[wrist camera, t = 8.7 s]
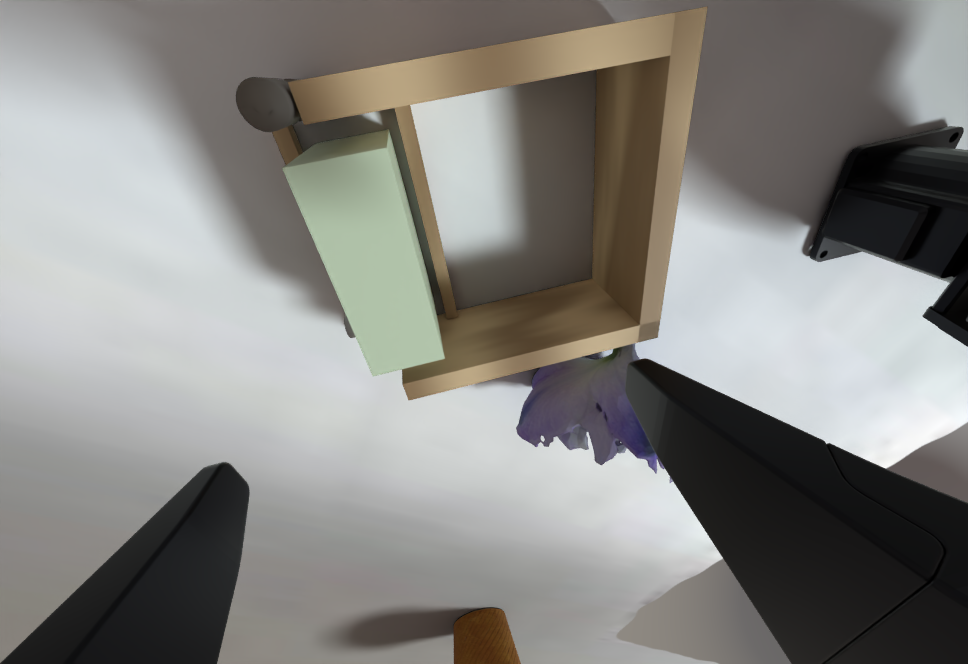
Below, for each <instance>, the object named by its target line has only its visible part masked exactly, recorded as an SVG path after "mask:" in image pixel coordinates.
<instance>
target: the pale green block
mask: <svg viewBox="0 0 968 664" xmlns="http://www.w3.org/2000/svg"><path fill="white" fill-rule="evenodd" d="M282 170H283V172H284V174H285V176H286V179H287V181H288V183H289V186H290V188H291V190H292V192H293V195H294V197H295V199H296V202H297V204H298V206H299V208H300V211H301V213H302V215H303V218H304V220H305V222H306V224H307V227H308V229H309V231H310V234H311V236H312V238H313V240H314V243H315V245H316V247H317V250H318V252H319V254H320V257H321V259H322V261H323V263H324V266H325V268H326V270H327V273H328V275H329V277H330V279H331V282H332V284H333V286H334V289H335V291H336V293H337V295H338V298H339V300H340V302H341V305H342V307H343V309H344V311H345V314H346V316H345V317H344V324H345V329H346V331H347V334H348V336H349V337H350V338H354V337H356V339H357V341H358V343H359V346H360V348H361V350H362V353H363V355H364V357H365V360H366V362H367V364H368V366H369V369H370V371H371V373H372V376H377V375H381V374H385V373H389V372H393V371H397V370H401V369H405V368H409V367H413V366H417V365H422V364H426V363H430V362H434V361H438V360H442V359H445V357H444V351H443V346H442V340H441V335H440V330H439V324H438V319H437V313H436V308H435V303H434V297H433V293H432V290H431V286H430V282H429V278H428V275H427V271H426V267H425V263H424V260H423V256H422V252H421V248H420V244H419V241H418V237H417V233H416V229H415V226H414V222H413V218H412V214H411V210H410V207H409V203H408V199H407V195H406V192H405V188H404V184H403V180H402V176H401V173H400V169H399V165H398V161H397V158H396V154H395V150H394V146H393V143H392V139H391V135H390V131H389V129H388V130H383V131H377V132H372V133H367V134H362V135H357V136H352V137H347V138H342V139H336V140H331V141H326V142H321V143H316V144H314V145H313V146H311V147H310V148H309V149H307V150H306V151H305V152H303V153H302V154H301V155H299V156H298V157H297V158H295V159H294V160H293V161H291V162H290V163H289V164H287V165H286V166H285V167H283V168H282Z"/></svg>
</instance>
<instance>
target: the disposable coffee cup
mask: <svg viewBox="0 0 968 664" xmlns="http://www.w3.org/2000/svg"><path fill="white" fill-rule="evenodd" d="M454 664H521V663H520V660H519V657H518V654H517V650H516V648H515V644H514V641H513V638H512V635H511V632H510V629H509V625H508V622H507V619H506V616H505V613H504V611H502V610H500V609H495V608H486V609H481V610H476V611H473V612H471V613H468V614H466V615H464V616H462V617H461V618H459V619H458V620H457V621H456V622H455V624H454Z"/></svg>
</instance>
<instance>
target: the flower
mask: <svg viewBox="0 0 968 664" xmlns="http://www.w3.org/2000/svg"><path fill="white" fill-rule="evenodd" d="M636 360H640V359H639V358H638V356H637V354H636V351H635V343H634V344H630V345H626V346H622V347H618V348H614V349H613V353H612V354H611V355H609V356H606V357H603V358H601V359H594V360H593V359H588V358H584V357H579V358H575V359H571V360H567V361H563V362H559V363H555V364H551V365H547V366H543V367H540V369H539V370H538V371H537V372H536V374H535V375H534V377H533V379H532V388H533V390H532V391H531V393H530V394H529V396H528V398H527V399H526V401H525V403H524V405H523V408H522V411H521V416H520V420H519V424H518V426H517V427H516V429H517V434H518V435H519V436H520V437H521V438H522V439H524V440H526V441H528V442H529V443H531V444H533V445H534V446H535V447H537V446H538V443H540V442H542V441H541V440H540V438H541V435H542V436H544V438H545V441H544V442H542V443H543V445H544V446H546V447H549V444H550V443H551V442H553V437H556V436H557V437H558V438H559V439H560V441H561V442H562V443H563V444H564V445H565V446H566V447H567V448H568V449H569V450H572V449H576V448H582V449H585V450H587V449H589V448H588V438H587V436H586V432H589V435H590V439H591V442H592V446H593V449H594V454H595V461H596V462H597V463H598V464H600V465H603V464H604V463H605V462H607V461H608V460H610V459H612V458H613V457H614V456H615V455H616V454H617V453H625V451H626V448H628V449H629V450H630V451H631V452H632V453H633V454H634V455H635V456H636V457H637V458H640V459H646V460H647V461H648V465H649V467H650V468H652V469H653V470H654V472H655V473H656V474H657V462H656V460H657V459H658V462H659V464H660V467H661V468H663V469H664V466H663V465H662V463H661V461H660V460H659V458H658V457H657V455H656V453H655V451H654V449H653V447H652V446H651V444H650V442H649V440H648V438H647V436H646V434H645V432H644V430H643V428H642V426H641V424H640V422H639V420H638V418H637V416H636V414H635V412H634V410H633V408H632V406H631V404H630V402H629V400H628V398H627V395H626V392H625V383H626V373H627V365H628V364H629V363H630V362H632V361H636ZM620 442H621V443H620ZM672 481H673V480H672V479H671V477H670V483H671V482H672Z"/></svg>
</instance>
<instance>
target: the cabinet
mask: <svg viewBox="0 0 968 664" xmlns="http://www.w3.org/2000/svg"><path fill="white" fill-rule="evenodd" d="M706 14H707V7H702V8H697V9H691V10H686V11H680V12H675V13H669V14H663V15H658V16H652V17H647V18H641V19H636V20H630V21H625V22H619V23H614V24H608V25H602V26H597V27H591V28H586V29H580V30H575V31H569V32H564V33H558V34H553V35H547V36H541V37H536V38H530V39H525V40H519V41H514V42H508V43H503V44H497V45H492V46H486V47H480V48H475V49H469V50H464V51H458V52H453V53H447V54H442V55H436V56H430V57H425V58H419V59H414V60H408V61H403V62H397V63H392V64H386V65H381V66H375V67H369V68H364V69H358V70H353V71H347V72H342V73H336V74H331V75H325V76H320V77H314V78H308V79H303V80H297V79H284V80H282V79H277V78H258V77H252V78H248V79H245V80H244V81H242V82H241V83H240V85H239V86H238V88H237V92H236V103H237V106H238V109H239V111H240V113H241V115H242V116H243V117H244V119H245V120H246V121H247V122H248V123H249V124H250V125H252V126H253V127H255V128H257V129H259V130H261V131H265V132H272V134H273V136H274V138H275V141H276V143H277V145H278V148H279V150H280V152H281V155H282V157H283V159H284V162H285V164H286V165H287V164H289V163H290V162H291V161H293V160H294V159H295V158H297V157H298V156H299V155H301V154H302V153H303V151H302V148H301V146H300V143H299V141H298V138H297V136H296V133H295V131H294V128H293V126H292V125H293V124H295V123H297V122H298V121H303V124H304V125H307V124H312V123H317V122H322V121H328V120H333V119H338V118H343V117H349V116H354V115H359V114H364V113H370V112H375V111H380V110H386V109H391V108H395V112H396V116H397V120H398V124H399V129H400V133H401V137H402V141H403V145H404V149H405V153H406V157H407V161H408V165H409V169H410V173H411V177H412V181H413V185H414V189H415V193H416V197H417V201H418V205H419V209H420V213H421V217H422V221H423V225H424V229H425V233H426V237H427V241H428V245H429V249H430V253H431V257H432V261H433V265H434V269H435V273H436V277H437V281H438V285H439V289H440V293H441V297H442V301H443V305H444V309H445V313H444V314H440V315H437V319H438V324H439V330H440V335H441V340H442V346H443V351H444V357H445V359H442V360H438V361H434V362H430V363H426V364H422V365H417V366H413V367H409V368H405V369H402V380H403V387H404V389H405V392H406V395H407V397H408V400H413V399H417V398H421V397H424V396H428V395H432V394H436V393H440V392H444V391H448V390H452V389H456V388H460V387H464V386H468V385H472V384H476V383H480V382H484V381H488V380H492V379H496V378H500V377H503V376H507V375H511V374H515V373H519V372H523V371H527V370H531V369H535V368H539V367H543V366H547V365H551V364H555V363H559V362H563V361H567V360H571V359H575V358H579V357H582V356H586V355H590V354H594V353H598V352H602V351H606V350H610V349H614V348H618V347H622V346H626V345H630V344H634V343H638V342H642V341H646V340H650V339H654V338H658V331H659V325H660V318H661V311H662V305H663V298H664V292H665V285H666V278H667V272H668V265H669V258H670V252H671V245H672V239H673V232H674V225H675V219H676V212H677V206H678V199H679V192H680V186H681V179H682V173H683V166H684V159H685V153H686V146H687V140H688V133H689V126H690V120H691V113H692V106H693V100H694V93H695V87H696V80H697V73H698V67H699V60H700V54H701V47H702V40H703V34H704V27H705V21H706ZM596 69H597V75H596V122H595V169H594V215H593V262H592V279H588V280H584V281H580V282H575V283H571V284H567V285H563V286H558V287H554V288H550V289H546V290H542V291H537V292H533V293H529V294H525V295H520V296H516V297H512V298H508V299H503V300H499V301H495V302H491V303H487V304H482V305H478V306H474V307H470V308H465V309H461V310H457V309H456V305H455V301H454V296H453V292H452V287H451V283H450V279H449V274H448V270H447V265H446V261H445V257H444V252H443V248H442V244H441V239H440V235H439V230H438V226H437V222H436V217H435V213H434V208H433V204H432V200H431V195H430V191H429V186H428V182H427V178H426V173H425V169H424V165H423V160H422V156H421V151H420V147H419V143H418V138H417V134H416V129H415V125H414V121H413V116H412V112H411V107H410V105H412V104H417V103H422V102H428V101H433V100H438V99H443V98H449V97H454V96H459V95H465V94H470V93H475V92H480V91H486V90H491V89H496V88H501V87H507V86H512V85H517V84H522V83H528V82H533V81H538V80H544V79H549V78H554V77H559V76H565V75H570V74H575V73H580V72H586V71H591V70H596Z"/></svg>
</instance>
